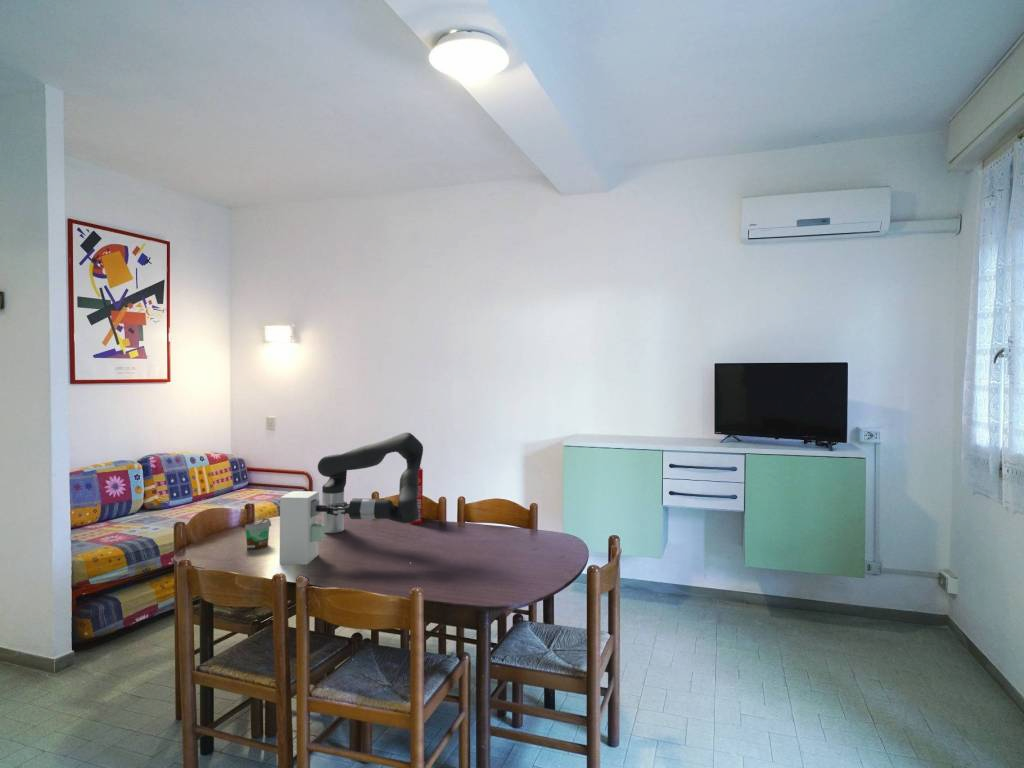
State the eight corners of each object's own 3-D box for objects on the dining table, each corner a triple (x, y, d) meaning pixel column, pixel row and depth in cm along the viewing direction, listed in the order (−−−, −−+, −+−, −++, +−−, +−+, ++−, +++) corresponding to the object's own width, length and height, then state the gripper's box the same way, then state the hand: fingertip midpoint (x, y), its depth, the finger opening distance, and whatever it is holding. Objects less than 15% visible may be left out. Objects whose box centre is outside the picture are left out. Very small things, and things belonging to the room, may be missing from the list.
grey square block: (303, 513, 227) (303, 499, 227) (319, 513, 227) (319, 500, 227) (298, 516, 222) (298, 502, 222) (314, 516, 222) (314, 502, 222)
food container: (258, 551, 234) (259, 525, 234) (244, 550, 235) (244, 524, 235) (277, 543, 246) (277, 518, 246) (263, 542, 247) (264, 517, 247)
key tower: (291, 554, 231) (292, 491, 230) (318, 554, 231) (318, 491, 230) (279, 564, 219) (280, 497, 218) (307, 564, 219) (307, 497, 218)
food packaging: (422, 523, 283) (422, 469, 282) (410, 524, 281) (411, 470, 281) (417, 516, 297) (418, 465, 296) (406, 517, 295) (407, 465, 295)
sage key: (308, 537, 227) (308, 524, 227) (324, 537, 227) (324, 524, 227) (303, 540, 222) (304, 527, 222) (320, 541, 222) (320, 527, 222)
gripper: (368, 495, 231) (322, 494, 231) (359, 502, 218) (311, 501, 218) (368, 515, 231) (322, 514, 231) (359, 523, 218) (310, 522, 218)
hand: (317, 508), depth 224 cm, fingers closed
